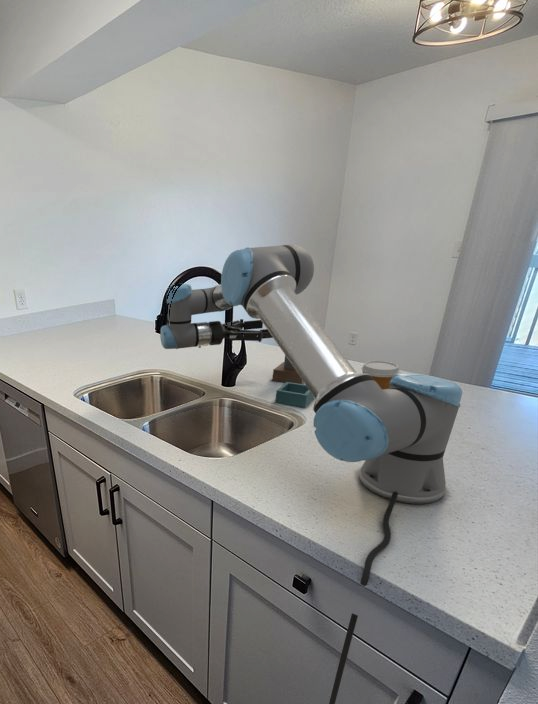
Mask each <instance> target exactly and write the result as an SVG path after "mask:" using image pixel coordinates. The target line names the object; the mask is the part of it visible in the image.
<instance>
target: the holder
mask: <svg viewBox="0 0 538 704" xmlns="http://www.w3.org/2000/svg"><path fill="white" fill-rule="evenodd" d="M275 391H276V392H275V400H274V403H275V404H281V405H286V406H292V407H297V408H304V409H305V408H307V406H308V405H309V404H310V403H311V402H312V401H313V400H314V399H315V397H314V396H313V394H312V393H311V391H310V390H309V389H308V387H307V386H306V384H305V383H303V384H298V383H291V382H286V383H285V382H284V383H283V384H282V385H281V386H280V387H279V388H277V389H276V390H275Z"/></svg>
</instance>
